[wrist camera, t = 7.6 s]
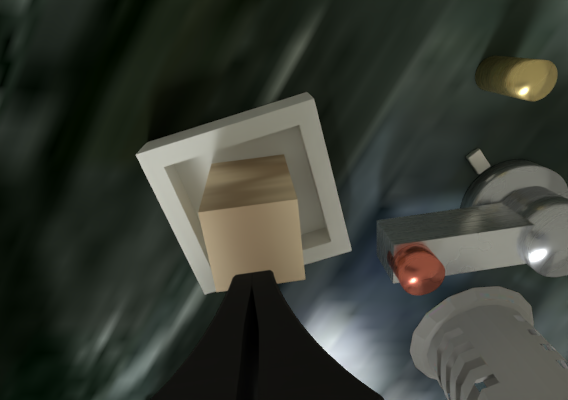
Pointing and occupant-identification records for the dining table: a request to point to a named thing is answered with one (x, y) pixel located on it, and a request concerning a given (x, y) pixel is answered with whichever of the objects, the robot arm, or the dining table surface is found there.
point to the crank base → (515, 173)
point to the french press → (488, 348)
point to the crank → (476, 240)
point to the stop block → (251, 220)
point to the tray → (238, 146)
